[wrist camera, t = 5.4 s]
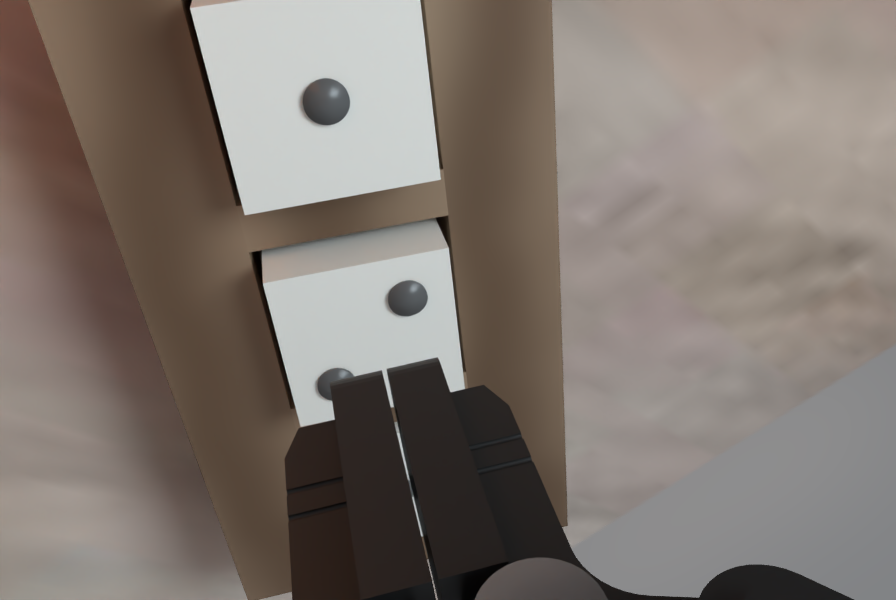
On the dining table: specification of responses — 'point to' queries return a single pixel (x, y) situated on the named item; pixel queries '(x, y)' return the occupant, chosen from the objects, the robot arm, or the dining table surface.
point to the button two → (361, 309)
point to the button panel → (317, 234)
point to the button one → (319, 96)
